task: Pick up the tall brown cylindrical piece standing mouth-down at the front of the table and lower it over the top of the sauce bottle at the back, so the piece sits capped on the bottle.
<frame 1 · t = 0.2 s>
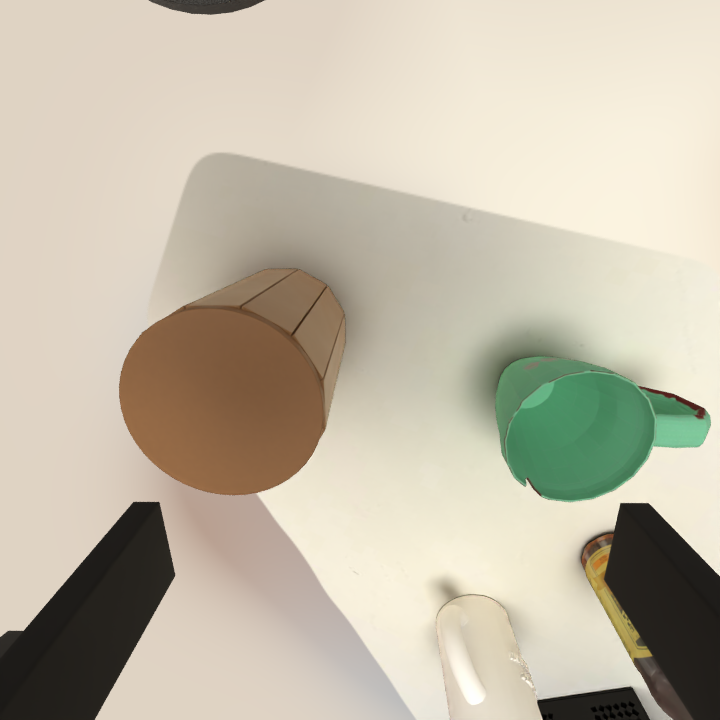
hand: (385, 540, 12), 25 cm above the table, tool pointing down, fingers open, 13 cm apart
brown cylindrical piece: (286, 328, 35), on the table
sauce bottle: (605, 552, 42), on the table
mug 2: (463, 607, 45), on the table
mug: (552, 381, 36), on the table
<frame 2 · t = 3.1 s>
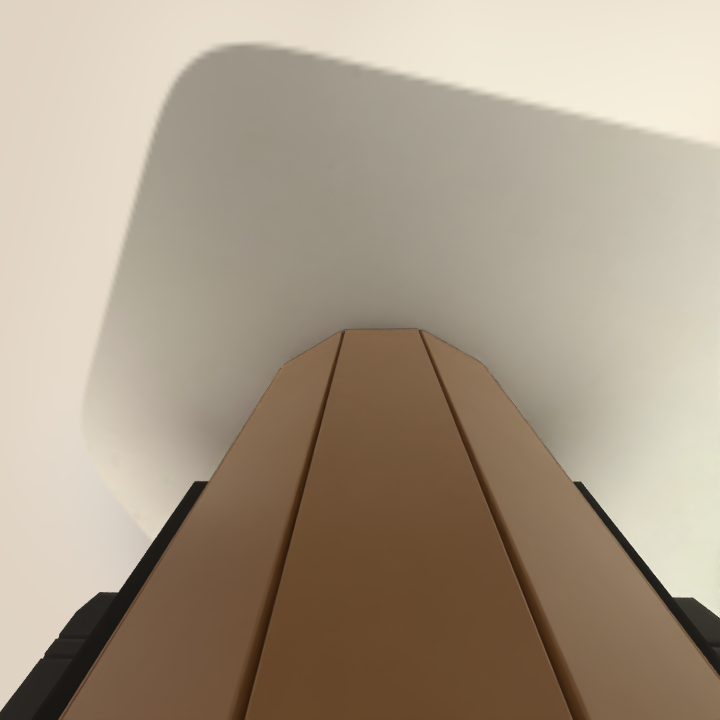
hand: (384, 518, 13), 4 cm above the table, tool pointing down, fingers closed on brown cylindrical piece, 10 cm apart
brown cylindrical piece: (382, 452, 16), on the table, touching gripper
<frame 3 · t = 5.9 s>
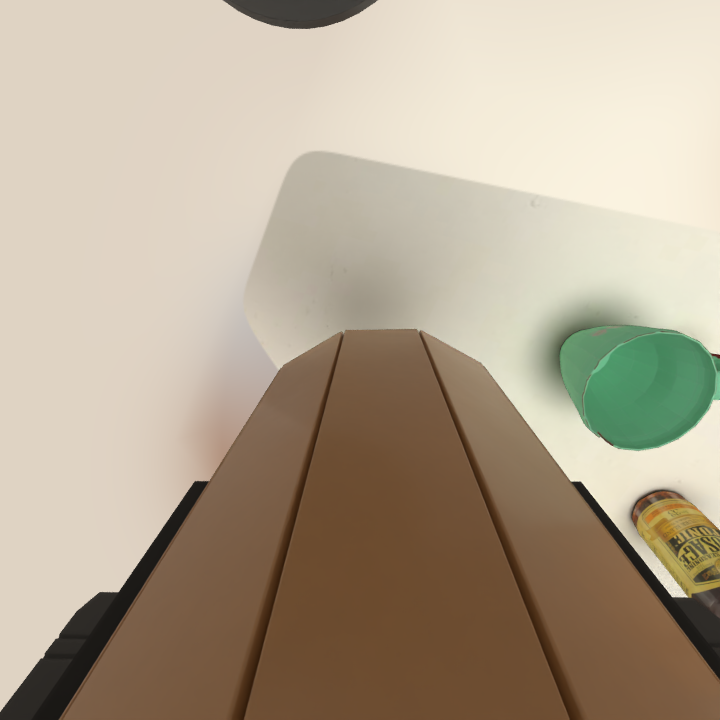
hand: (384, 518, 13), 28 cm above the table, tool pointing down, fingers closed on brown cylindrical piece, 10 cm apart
brown cylindrical piece: (381, 452, 16), point 25 cm above the table, touching gripper
sauce bottle: (654, 509, 46), on the table
mug: (608, 351, 40), on the table
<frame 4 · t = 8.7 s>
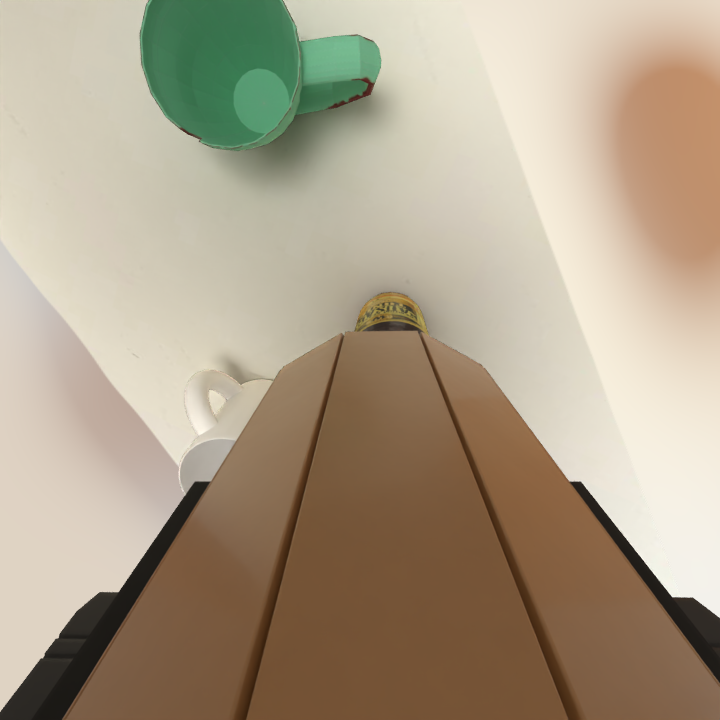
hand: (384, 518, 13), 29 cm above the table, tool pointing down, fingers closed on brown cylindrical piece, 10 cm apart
brown cylindrical piece: (382, 454, 16), point 25 cm above the table, touching gripper
sauce bottle: (387, 321, 40), on the table
mug 2: (255, 397, 43), on the table
mug: (291, 101, 34), on the table
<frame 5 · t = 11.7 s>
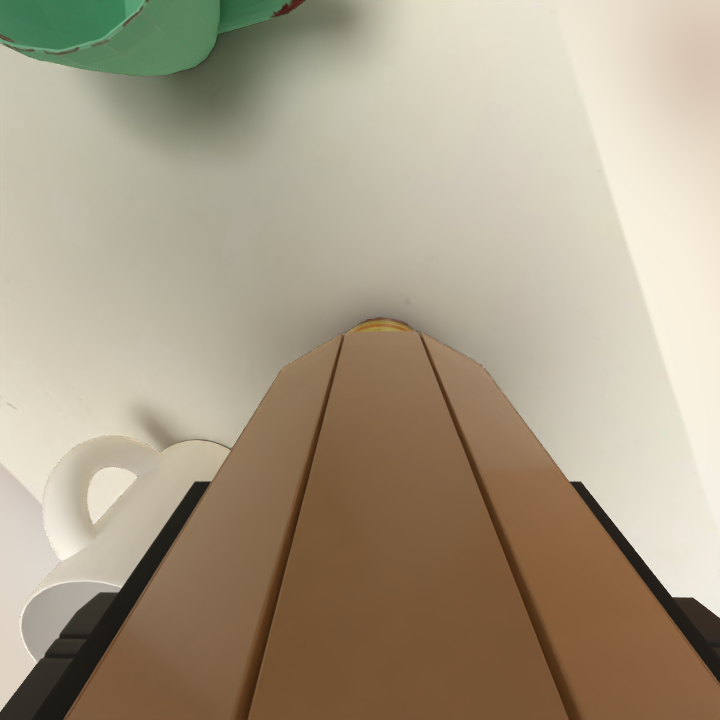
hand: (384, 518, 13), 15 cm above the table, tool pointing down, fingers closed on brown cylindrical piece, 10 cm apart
brown cylindrical piece: (382, 454, 16), point 11 cm above the table, touching gripper
sauce bottle: (378, 359, 27), on the table
mug 2: (189, 464, 30), on the table
mug: (220, 13, 21), on the table
when the fingers open (8 cm above the table, at t = 14.2 s): brown cylindrical piece stays where it is, resting on sauce bottle.
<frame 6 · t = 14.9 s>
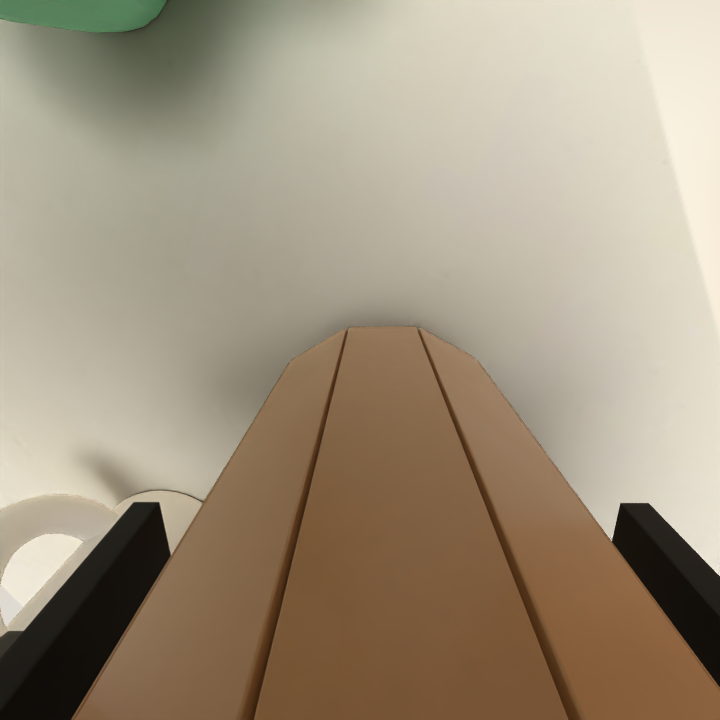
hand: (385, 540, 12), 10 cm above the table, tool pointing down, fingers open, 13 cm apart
brown cylindrical piece: (382, 442, 18), point 4 cm above the table, touching sauce bottle
mug 2: (152, 517, 25), on the table
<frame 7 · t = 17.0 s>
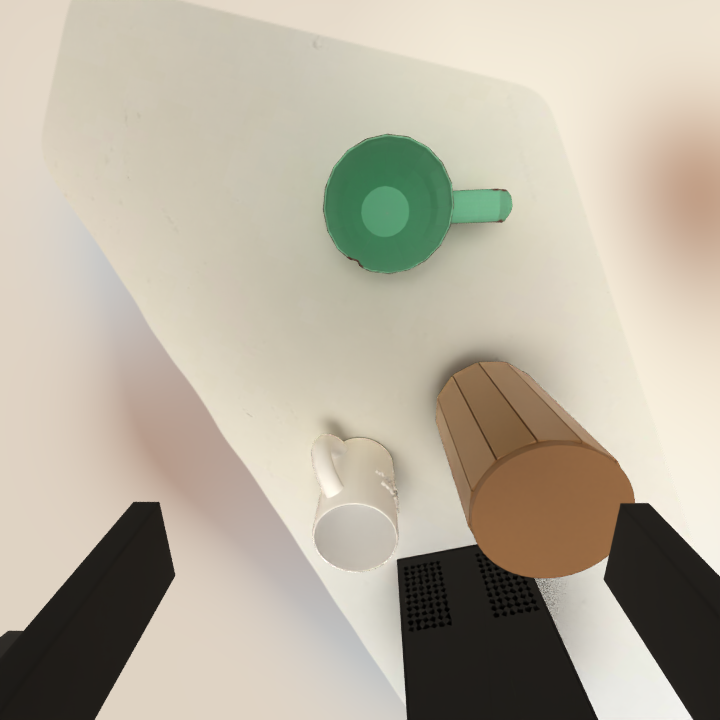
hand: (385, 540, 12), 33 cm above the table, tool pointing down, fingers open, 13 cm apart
brown cylindrical piece: (487, 409, 41), point 4 cm above the table, touching sauce bottle
gaming console: (466, 592, 55), on the table
mug 2: (352, 452, 49), on the table
mug: (409, 211, 40), on the table
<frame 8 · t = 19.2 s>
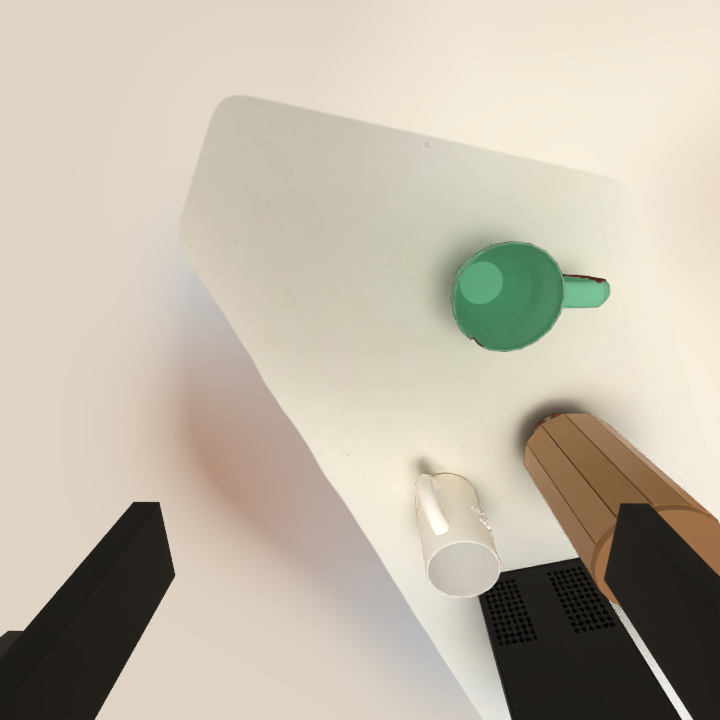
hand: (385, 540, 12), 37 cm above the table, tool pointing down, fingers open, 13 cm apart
brown cylindrical piece: (569, 453, 47), point 4 cm above the table, touching sauce bottle
gaming console: (534, 605, 61), on the table
mug 2: (438, 486, 55), on the table
mug: (502, 281, 46), on the table
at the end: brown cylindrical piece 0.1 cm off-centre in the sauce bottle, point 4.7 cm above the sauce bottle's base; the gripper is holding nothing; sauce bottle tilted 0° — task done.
